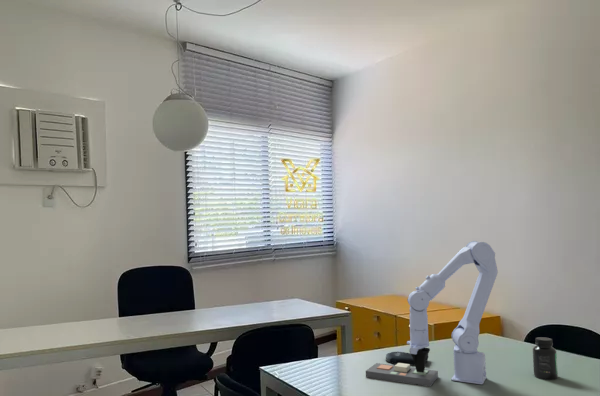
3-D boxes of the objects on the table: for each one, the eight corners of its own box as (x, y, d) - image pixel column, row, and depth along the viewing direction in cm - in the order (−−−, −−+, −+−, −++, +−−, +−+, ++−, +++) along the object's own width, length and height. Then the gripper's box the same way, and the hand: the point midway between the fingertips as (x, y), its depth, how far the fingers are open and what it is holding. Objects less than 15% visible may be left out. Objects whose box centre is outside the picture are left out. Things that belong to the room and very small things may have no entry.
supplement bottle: (562, 378, 150) (560, 339, 151) (546, 381, 148) (544, 342, 149) (545, 372, 157) (543, 335, 157) (529, 375, 154) (527, 337, 155)
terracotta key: (392, 370, 160) (392, 365, 160) (388, 374, 156) (388, 369, 156) (381, 369, 162) (381, 364, 162) (377, 372, 158) (377, 367, 158)
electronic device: (428, 364, 175) (387, 355, 180) (429, 350, 174) (389, 341, 179) (425, 375, 166) (382, 365, 171) (426, 360, 165) (384, 350, 171)
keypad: (438, 377, 154) (437, 370, 154) (430, 386, 146) (429, 379, 146) (376, 368, 165) (376, 362, 165) (365, 377, 156) (365, 370, 156)
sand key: (410, 369, 157) (410, 364, 157) (406, 372, 153) (406, 367, 153) (398, 367, 159) (398, 362, 159) (394, 370, 155) (394, 365, 155)
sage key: (428, 375, 154) (428, 370, 154) (425, 379, 150) (425, 374, 150) (416, 373, 156) (416, 369, 156) (412, 377, 152) (412, 372, 152)
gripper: (413, 323, 162) (414, 364, 161) (399, 332, 150) (401, 376, 149) (434, 325, 159) (435, 366, 158) (422, 334, 146) (423, 379, 145)
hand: (420, 371), depth 153 cm, fingers closed, pressing on sage key
